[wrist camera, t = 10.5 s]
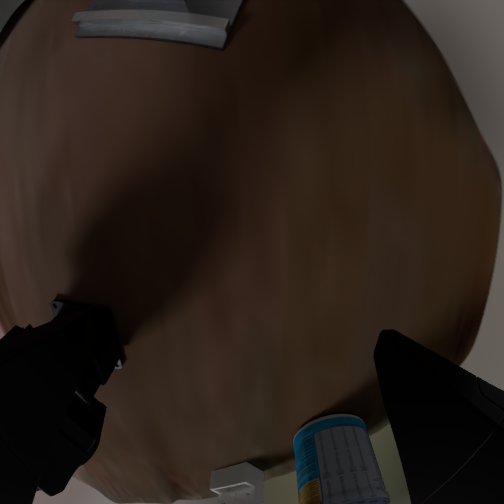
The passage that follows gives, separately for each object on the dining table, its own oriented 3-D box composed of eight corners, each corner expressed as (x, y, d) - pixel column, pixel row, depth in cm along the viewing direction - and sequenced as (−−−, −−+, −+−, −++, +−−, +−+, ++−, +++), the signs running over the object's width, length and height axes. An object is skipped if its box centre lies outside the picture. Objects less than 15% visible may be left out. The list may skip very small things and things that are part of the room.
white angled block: (293, 477, 27) (263, 535, 20) (238, 464, 33) (210, 511, 27) (276, 468, 26) (243, 529, 19) (221, 454, 32) (191, 503, 26)
